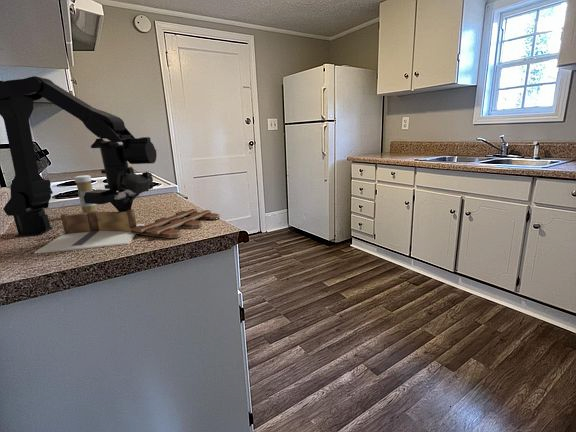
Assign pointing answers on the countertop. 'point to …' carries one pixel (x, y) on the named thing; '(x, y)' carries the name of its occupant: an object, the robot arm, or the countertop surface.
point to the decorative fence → (174, 223)
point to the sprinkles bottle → (83, 187)
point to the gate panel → (116, 220)
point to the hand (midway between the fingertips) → (127, 220)
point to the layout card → (88, 240)
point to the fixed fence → (80, 222)
